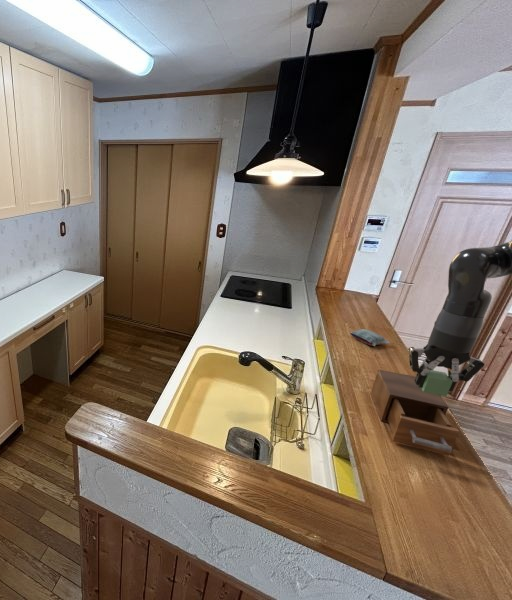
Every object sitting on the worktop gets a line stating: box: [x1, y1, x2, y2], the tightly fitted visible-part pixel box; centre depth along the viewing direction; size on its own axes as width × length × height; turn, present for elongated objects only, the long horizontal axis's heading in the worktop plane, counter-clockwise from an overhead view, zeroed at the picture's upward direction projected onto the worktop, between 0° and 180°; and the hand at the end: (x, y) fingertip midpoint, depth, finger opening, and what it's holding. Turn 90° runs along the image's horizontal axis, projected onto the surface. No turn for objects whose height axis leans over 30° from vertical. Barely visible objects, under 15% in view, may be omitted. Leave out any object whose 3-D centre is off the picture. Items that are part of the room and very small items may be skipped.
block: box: [421, 369, 453, 397], centre depth 83 cm, size 4×4×4 cm
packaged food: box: [349, 328, 391, 347], centre depth 141 cm, size 9×12×5 cm
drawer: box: [386, 397, 460, 457], centre depth 87 cm, size 18×11×8 cm, turn 153°
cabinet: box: [370, 369, 449, 424], centre depth 98 cm, size 15×13×10 cm
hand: (431, 388), depth 84 cm, fingers closed on block, 4 cm apart
